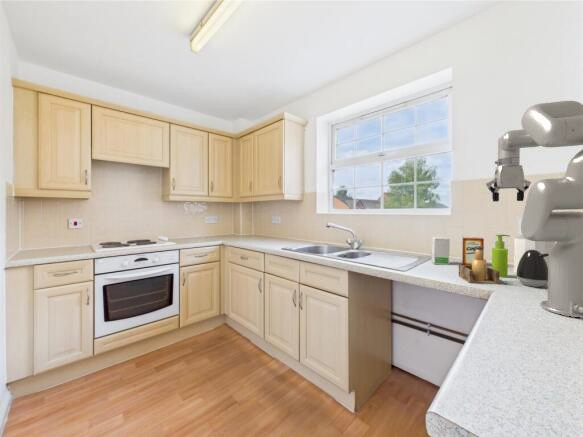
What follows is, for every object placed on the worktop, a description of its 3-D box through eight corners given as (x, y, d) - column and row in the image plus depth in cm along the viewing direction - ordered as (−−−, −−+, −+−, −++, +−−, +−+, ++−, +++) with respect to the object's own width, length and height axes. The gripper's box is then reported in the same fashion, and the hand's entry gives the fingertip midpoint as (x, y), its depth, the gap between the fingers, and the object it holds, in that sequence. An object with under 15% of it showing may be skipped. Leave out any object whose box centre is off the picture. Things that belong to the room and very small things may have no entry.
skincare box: (433, 264, 151) (433, 238, 150) (431, 262, 157) (431, 236, 156) (449, 265, 148) (450, 238, 148) (446, 262, 154) (446, 237, 154)
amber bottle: (488, 281, 113) (489, 247, 113) (475, 280, 114) (475, 247, 114) (482, 277, 118) (483, 245, 118) (469, 277, 119) (470, 245, 119)
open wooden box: (499, 284, 110) (499, 271, 110) (469, 283, 113) (469, 270, 113) (485, 277, 121) (485, 265, 121) (458, 276, 124) (458, 265, 124)
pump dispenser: (538, 290, 102) (539, 252, 101) (510, 283, 112) (510, 248, 111) (556, 287, 104) (557, 250, 104) (527, 281, 114) (527, 247, 114)
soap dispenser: (512, 277, 120) (513, 235, 119) (496, 277, 121) (496, 235, 120) (505, 274, 126) (505, 234, 125) (489, 274, 127) (489, 234, 126)
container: (519, 276, 123) (519, 239, 122) (509, 270, 135) (510, 236, 135) (560, 280, 116) (561, 240, 115) (546, 272, 129) (547, 237, 128)
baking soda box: (463, 264, 148) (463, 237, 147) (462, 262, 154) (462, 236, 153) (483, 266, 143) (483, 238, 142) (481, 264, 149) (482, 236, 148)
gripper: (491, 162, 113) (491, 201, 113) (536, 160, 110) (536, 200, 111) (482, 165, 120) (481, 201, 121) (524, 163, 117) (523, 201, 118)
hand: (507, 201), depth 116 cm, fingers open, 9 cm apart
